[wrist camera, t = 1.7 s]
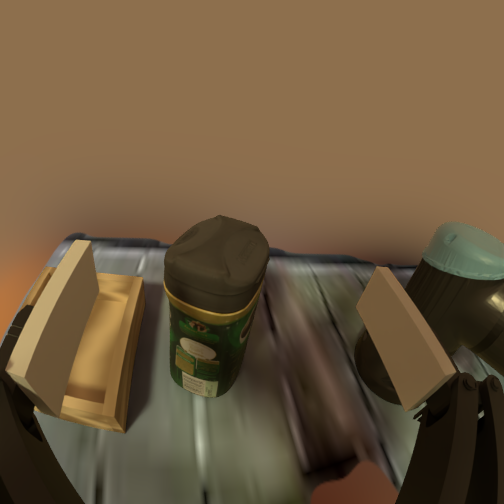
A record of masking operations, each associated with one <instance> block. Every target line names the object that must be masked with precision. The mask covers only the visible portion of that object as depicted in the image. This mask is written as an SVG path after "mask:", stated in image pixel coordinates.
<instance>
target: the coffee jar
mask: <svg viewBox="0 0 504 504" xmlns="http://www.w3.org/2000/svg"><path fill="white" fill-rule="evenodd" d="M269 260H270V258H269V245H268V242H267V240H266V238H265V237H264V235H263V234H262V233H261V232H260V230H259V228H258V227H257V226H254V225H251V224H249V223H246V222H243V221H240V220H236V219H233V218H229V217H225V216H221V215H218V216H216V217H215V218H211V219H208V220H205V221H202V222H200V223H198V224H196V225H194V226H193V227H192V228H190V229H189V230H188V231H186V232H185V233H184V234H183V235H182V236H181V237H179V239H177V240H176V241H175V243H174V244H173V245H172V246H171V247H170V248H169V249H168V250H167V252H166V254H165V259H164V265H165V269H164V288H165V292H166V295H167V297H168V299H169V306H170V372H171V376H172V378H173V380H174V381H175V382H176V383H177V384H178V385H179V386H181V387H182V388H184V389H186V390H188V391H190V392H192V393H194V394H197V395H200V396H204V397H210V398H213V397H219V396H221V395H223V394H225V393H226V392H227V391H228V390H229V388H230V387H231V385H232V384H233V382H234V380H235V378H236V376H237V374H238V372H239V370H240V367H241V364H242V360H243V357H244V353H245V349H246V345H247V340H248V337H249V333H250V329H251V326H252V322H253V318H254V314H255V310H256V306H257V303H258V299H259V295H260V291H261V287H262V283H263V279H264V276H265V272H266V268H267V264H268V262H269Z"/></svg>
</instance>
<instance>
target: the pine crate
mask: <svg viewBox="0 0 504 504" xmlns="http://www.w3.org/2000/svg"><path fill="white" fill-rule="evenodd" d="M56 269H57V268H53V267H45V269H44V270H43V272H42V273H41V275H40V276H39V278H38V280H37V281H36V283H35V284H34V286H33V288H32V289H31V291H30V293H29V295H28V296H27V298H26V300H25V302H24V303H23V305H22V307H21V309H20V311H21V310H22V309H23V308H24V307H25V306H26V305H32V306H35V305H36V303H37V301H38V299H39V297H40V296H41V294H42V292H43V290H44V289H45V287H46V285H47V283H48V282H49V280H50V278H51V277H52V275H53V273H54V272H55V270H56ZM96 275H97V280H98V285H99V290H100V291H99V293H98V296H97V298H96V301H95V303H94V306H93V308H92V311H91V314H90V316H89V319H88V322H87V324H86V327H85V330H84V333H83V336H82V338H81V341H80V344H79V347H78V351H77V354H76V357H75V360H74V363H73V367H72V370H71V373H70V377H69V381H68V384H67V388H66V392H65V396H64V400H63V404H62V408H61V413H60V419H63V420H67V421H70V422H74V423H78V424H82V425H86V426H90V427H95V428H99V429H104V430H109V431H115V432H120V433H125V430H126V420H127V411H128V402H129V394H130V387H131V380H132V373H133V366H134V360H135V354H136V349H137V343H138V338H139V332H140V327H141V322H142V318H143V313H144V308H145V304H146V303H145V294H144V283H143V277H135V276H124V275H114V274H105V273H96ZM20 311H19V312H20ZM7 335H8V334H7ZM34 410H35V411H38V412H41V411H40V410H39V409H38V408H37V407H36V406H35V408H34ZM41 413H42V412H41Z"/></svg>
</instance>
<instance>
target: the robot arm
mask: <svg viewBox="0 0 504 504" xmlns="http://www.w3.org/2000/svg"><path fill="white" fill-rule="evenodd" d="M422 256H423V257H422V259H421V261H420V263H419V265H418V266H417V268H416V270H415V272H414V274H413V275H412V277H411V279H410V280H409V282H408V284H407V286H406V287H405V289H403V287H402V286H401V284H400V283H399V282H398V280H397V279H396V278H395V276H394V275H393V273H392V272H391V271H390V269H389V268H388V267H378V266H376V269H375V271H374V273H373V275H372V277H371V279H370V280H369V282H368V284H367V286H366V288H365V290H364V292H363V294H362V296H361V298H360V300H359V301H358V303H357V305H356V309H357V311H358V313H359V315H360V316H361V318H362V320H363V322H364V324H365V326H366V328H367V329H366V330H365V331H364V333H363V334H362V336H361V337H360V339H359V340H358V342H357V344H356V348H355V362H356V366H357V369H358V372H359V374H360V376H361V378H362V379H363V381H364V382H365V384H366V385H367V386H368V387H369V388H370V389H371V390H372V391H373V392H374V393H375V394H376V395H378V396H379V397H381V398H382V399H384V400H386V401H388V402H391V403H394V404H398V405H402V406H403V408H404V410H405V412H407V411H410V410H413V409H416V408H418V407H419V406H420V405H421V404H422V403H424V402H425V401H426V403H427V405H426V406H425V407H424V408H423V409H422V410H420V411H419V412H418V413H417V414H415V415H414V418H413V419H416V418H417V417H419V416H420V415H421V414H422V416H421V417H420V418H419V419H418V420H417V421H419V422H420V427H419V431H418V435H417V439H416V443H415V447H414V450H413V454H412V457H411V461H410V464H409V467H408V470H407V473H406V476H405V479H404V482H403V485H402V487H401V490H400V493H399V495H398V498H397V500H396V503H395V504H504V393H503V389H502V385H501V383H500V381H499V379H498V378H497V377H496V376H494V375H489V376H488V377H487V378H485V379H484V380H483V381H476V380H475V379H474V378H473V376H472V375H470V374H469V373H466V372H464V373H460V371H459V370H458V368H457V366H456V364H455V363H454V361H453V359H452V358H451V356H452V355H453V354H454V353H455V352H456V351H457V349H458V348H459V347H460V346H461V345H464V346H465V347H467V348H468V349H469V350H471V351H472V352H473V353H475V354H476V355H477V356H479V357H480V358H481V359H482V360H484V361H485V362H486V363H487V364H489V365H490V366H491V367H492V368H494V369H495V370H496V371H497V372H498V373H500V374H501V375H502V376H503V377H504V244H503V243H501V242H500V241H499V240H498V239H497V238H495V237H493V236H492V235H490V234H488V233H486V232H484V231H482V230H480V229H478V228H476V227H473V226H470V225H468V224H464V223H460V222H446V223H444V224H442V225H441V226H439V227H438V229H437V230H436V232H435V234H434V236H433V237H432V239H431V241H430V243H429V245H428V246H427V247H426V248H425V249H424V251H423V253H422ZM99 291H100V290H99V285H98V280H97V275H96V270H95V264H94V258H93V252H92V245H91V241H84V240H75V241H74V243H73V244H72V246H71V247H70V249H69V250H68V252H67V253H66V255H65V256H64V258H63V259H62V261H61V262H60V264H59V266H58V267H57V269H56V270H55V272H54V273H53V275H52V277H51V278H50V280H49V282H48V283H47V285H46V287H45V289H44V290H43V292H42V294H41V296H40V297H39V299H38V301H37V303H36V305H35V306H32V305H26V306H25V307H24V308H23V309H22V310H21V311H20V312H18V314H17V315H16V317H15V319H14V321H13V323H12V326H11V327H10V329H9V331H8V335H6V337H5V339H4V341H3V343H2V346H1V348H0V504H85V503H84V502H83V500H82V499H81V497H80V496H79V494H78V493H77V492H76V490H75V489H74V487H73V485H72V484H71V482H70V481H69V479H68V478H67V476H66V474H65V473H64V471H63V469H62V468H61V466H60V464H59V462H58V461H57V459H56V457H55V455H54V453H53V451H52V450H51V448H50V446H49V444H48V442H47V440H46V438H45V436H44V434H43V431H42V429H41V427H40V425H39V423H38V420H37V418H36V416H35V415H34V413H33V411H34V408H35V406H36V407H37V408H38V409H39V410H40V411H41V412H42V413H44V414H47V415H50V416H53V417H57V418H60V413H61V408H62V404H63V400H64V396H65V392H66V388H67V384H68V381H69V377H70V373H71V370H72V367H73V363H74V360H75V357H76V354H77V351H78V347H79V344H80V341H81V338H82V336H83V333H84V330H85V327H86V324H87V322H88V319H89V316H90V314H91V311H92V308H93V306H94V303H95V301H96V298H97V296H98V293H99ZM483 410H484V416H483V417H482V418H480V419H479V420H478V414H479V413H480V412H482V411H483Z"/></svg>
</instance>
